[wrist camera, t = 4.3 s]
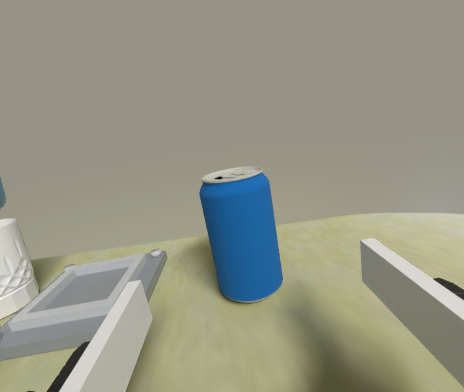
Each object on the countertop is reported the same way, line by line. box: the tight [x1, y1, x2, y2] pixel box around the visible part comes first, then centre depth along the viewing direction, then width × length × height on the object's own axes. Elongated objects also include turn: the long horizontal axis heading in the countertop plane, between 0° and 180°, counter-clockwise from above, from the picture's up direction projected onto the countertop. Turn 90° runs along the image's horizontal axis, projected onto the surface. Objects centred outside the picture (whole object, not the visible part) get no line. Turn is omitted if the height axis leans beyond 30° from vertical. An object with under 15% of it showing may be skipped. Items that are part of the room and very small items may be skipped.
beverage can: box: [200, 166, 283, 303], centre depth 24 cm, size 6×6×12 cm
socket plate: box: [0, 249, 167, 360], centre depth 28 cm, size 14×14×2 cm
